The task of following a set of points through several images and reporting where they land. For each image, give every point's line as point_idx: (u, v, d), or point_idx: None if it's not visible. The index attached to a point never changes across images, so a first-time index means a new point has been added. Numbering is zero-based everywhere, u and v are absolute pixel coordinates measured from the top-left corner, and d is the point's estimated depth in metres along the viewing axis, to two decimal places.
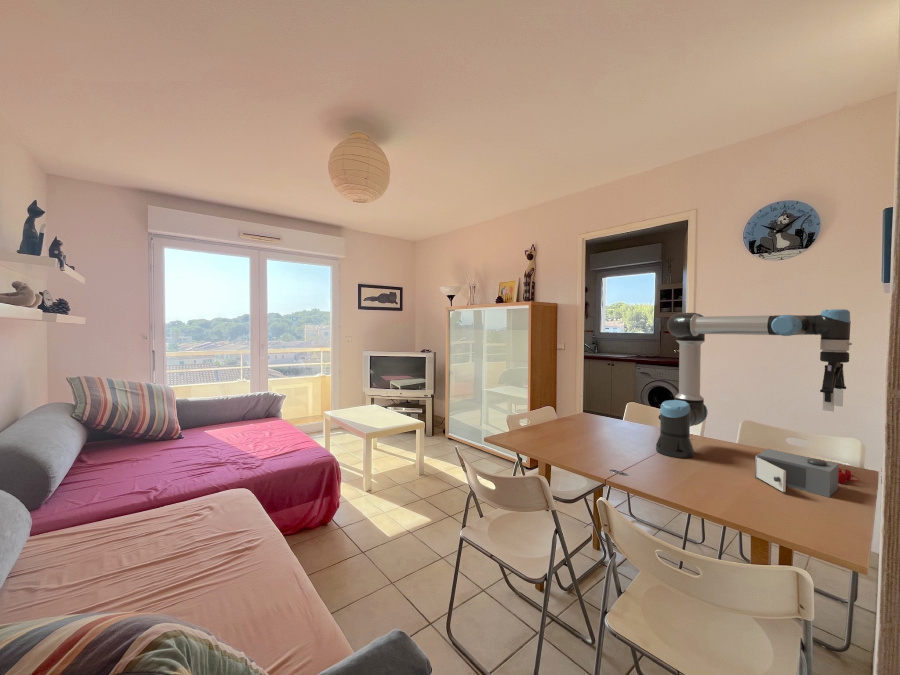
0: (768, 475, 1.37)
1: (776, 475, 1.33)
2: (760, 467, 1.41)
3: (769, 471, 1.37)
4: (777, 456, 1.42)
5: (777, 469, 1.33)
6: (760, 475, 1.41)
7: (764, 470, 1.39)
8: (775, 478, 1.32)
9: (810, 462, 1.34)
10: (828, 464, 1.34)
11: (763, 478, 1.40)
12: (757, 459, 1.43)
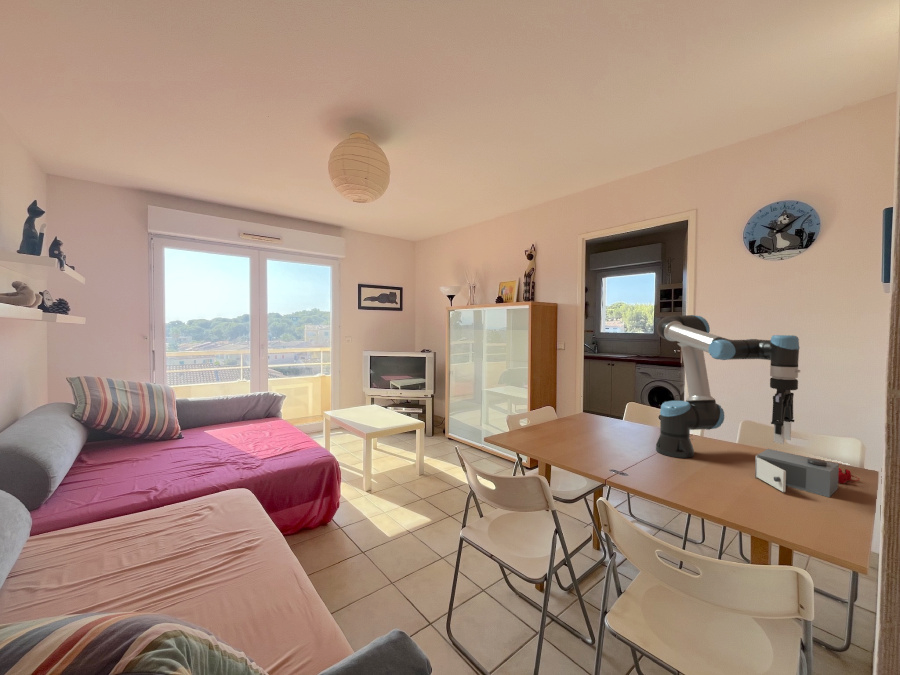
0: (768, 475, 1.37)
1: (776, 475, 1.33)
2: (760, 467, 1.41)
3: (769, 471, 1.37)
4: (777, 456, 1.42)
5: (777, 469, 1.33)
6: (760, 475, 1.41)
7: (764, 470, 1.39)
8: (775, 478, 1.32)
9: (810, 462, 1.34)
10: (828, 464, 1.34)
11: (763, 478, 1.40)
12: (757, 459, 1.43)
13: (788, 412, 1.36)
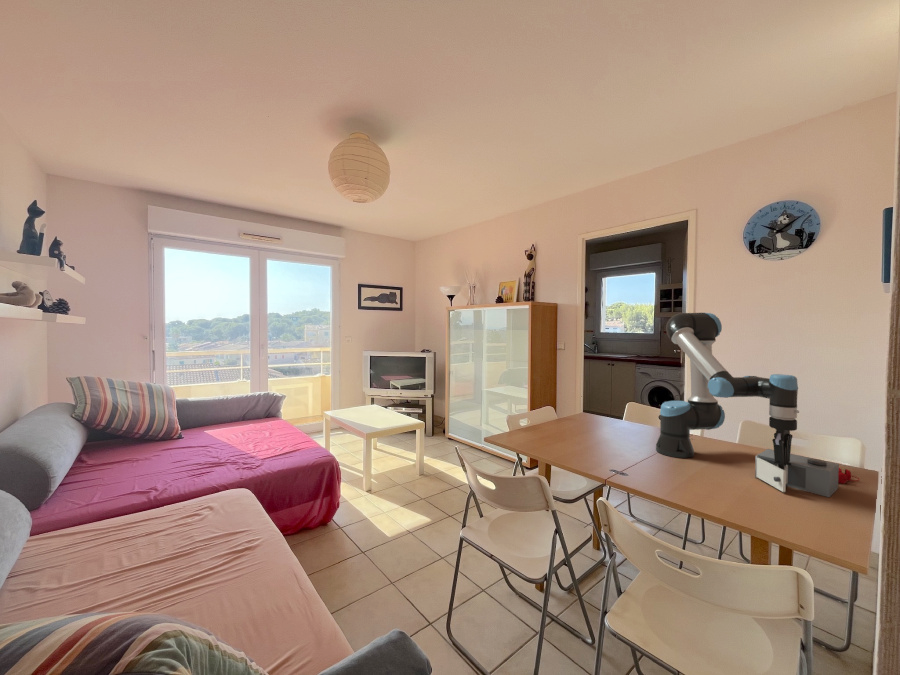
0: (768, 475, 1.37)
1: (776, 475, 1.33)
2: (760, 467, 1.41)
3: (769, 471, 1.37)
4: None
5: (777, 469, 1.33)
6: (760, 475, 1.41)
7: (764, 470, 1.39)
8: (775, 478, 1.32)
9: (810, 462, 1.34)
10: (828, 464, 1.34)
11: (763, 478, 1.40)
12: (757, 459, 1.43)
13: None
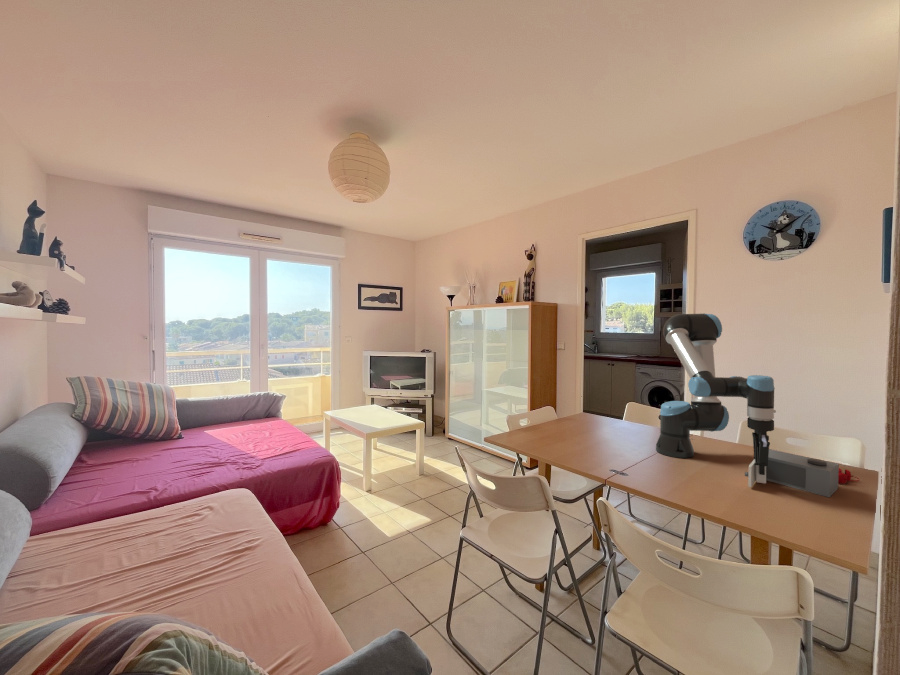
0: None
1: None
2: None
3: None
4: (777, 456, 1.42)
5: None
6: None
7: None
8: (745, 473, 1.37)
9: (810, 462, 1.34)
10: (828, 464, 1.34)
11: None
12: None
13: None
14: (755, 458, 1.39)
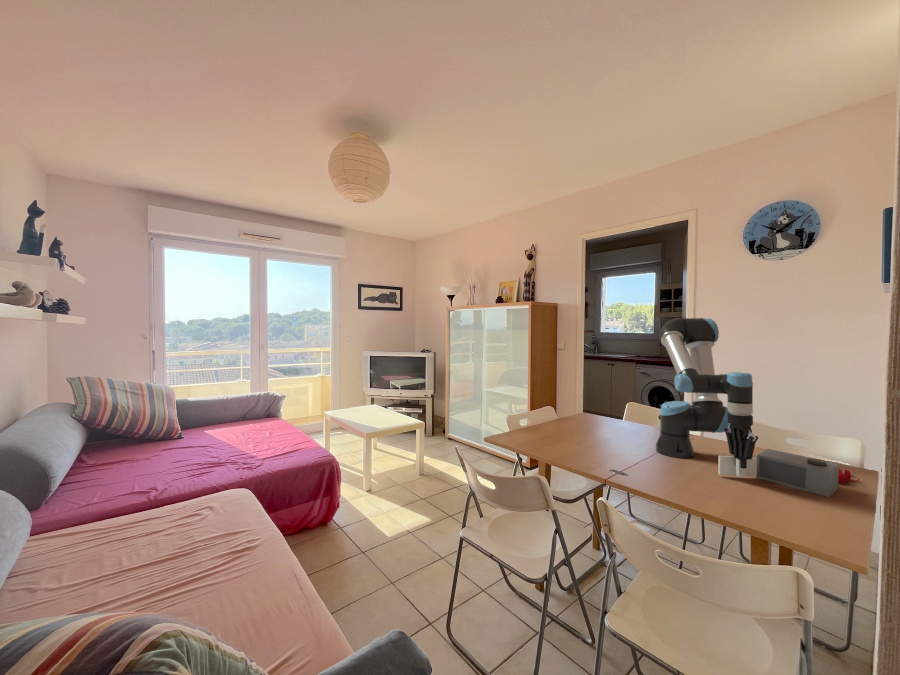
0: None
1: None
2: None
3: None
4: (777, 456, 1.42)
5: None
6: None
7: None
8: None
9: (810, 462, 1.34)
10: (828, 464, 1.34)
11: None
12: None
13: None
14: (734, 453, 1.42)
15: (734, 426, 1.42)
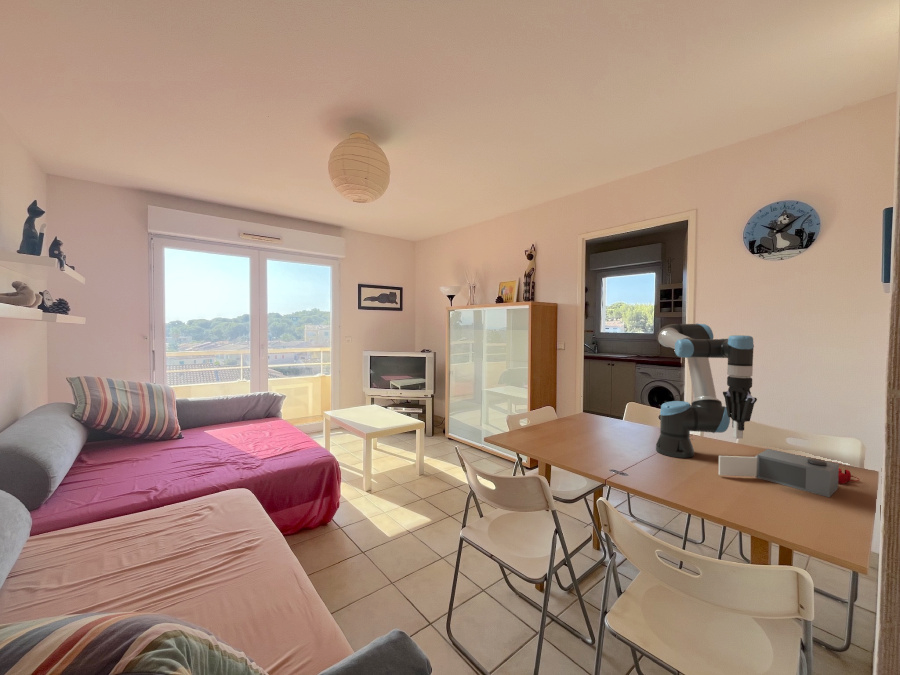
0: None
1: None
2: None
3: None
4: (777, 456, 1.42)
5: None
6: None
7: None
8: None
9: (810, 462, 1.34)
10: (828, 464, 1.34)
11: None
12: None
13: None
14: (732, 416, 1.43)
15: (733, 389, 1.42)
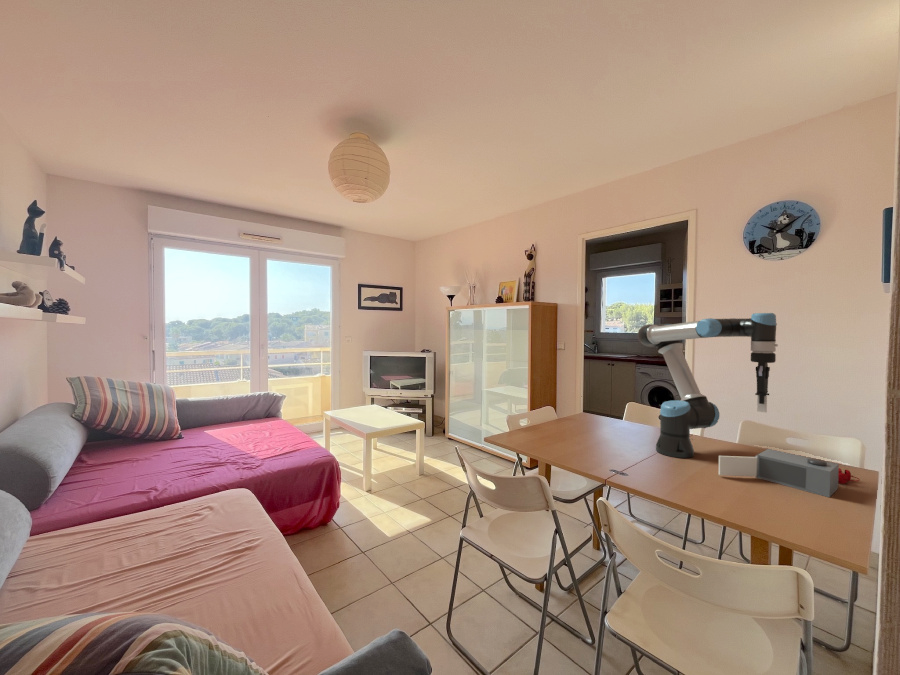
0: None
1: None
2: None
3: None
4: (777, 456, 1.42)
5: None
6: None
7: None
8: None
9: (810, 462, 1.34)
10: (828, 464, 1.34)
11: None
12: None
13: None
14: None
15: None
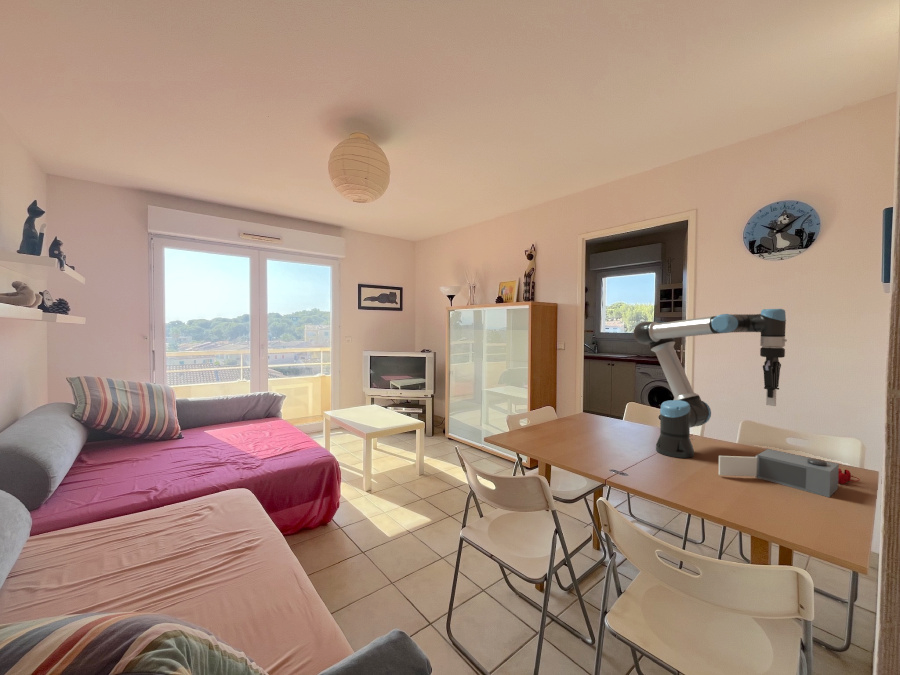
0: None
1: None
2: None
3: None
4: (777, 456, 1.42)
5: None
6: None
7: None
8: None
9: (810, 462, 1.34)
10: (828, 464, 1.34)
11: None
12: None
13: None
14: None
15: None
